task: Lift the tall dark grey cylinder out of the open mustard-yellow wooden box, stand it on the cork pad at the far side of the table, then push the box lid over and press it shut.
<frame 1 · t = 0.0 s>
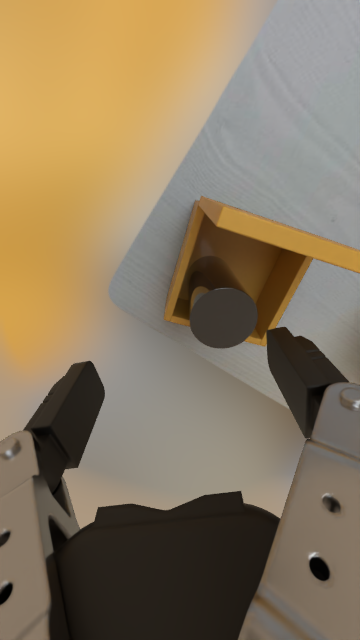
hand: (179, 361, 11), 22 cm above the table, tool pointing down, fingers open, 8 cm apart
lid: (294, 235, 16), point 14 cm above the table, hinge at 88.0°
dark grey cylinder: (208, 278, 31), point 1 cm above the table, touching chest
chest: (226, 267, 31), on the table
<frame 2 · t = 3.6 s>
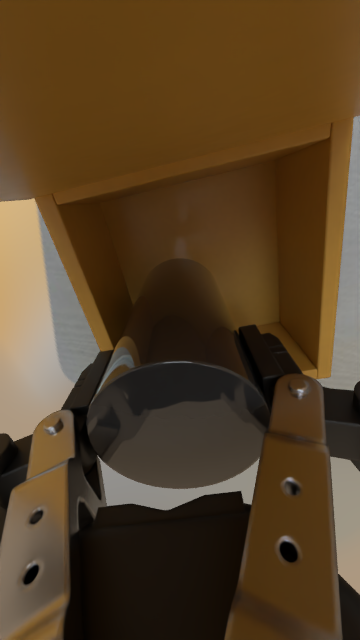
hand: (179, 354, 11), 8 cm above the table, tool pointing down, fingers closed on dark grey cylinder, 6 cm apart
lid: (187, 61, 3), point 14 cm above the table, hinge at 88.0°
dark grey cylinder: (180, 296, 18), point 1 cm above the table, touching chest, gripper
chest: (198, 266, 18), on the table
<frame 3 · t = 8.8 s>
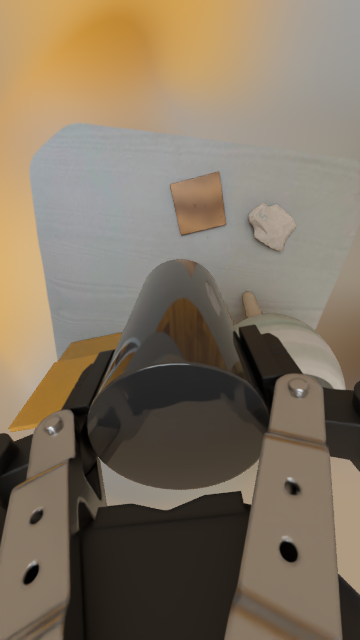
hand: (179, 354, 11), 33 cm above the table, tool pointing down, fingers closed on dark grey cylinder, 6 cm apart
pad: (198, 204, 38), on the table
lid: (73, 385, 37), point 14 cm above the table, hinge at 88.0°
dark grey cylinder: (180, 297, 18), point 25 cm above the table, touching gripper
decorative stone: (268, 225, 40), on the table
planter: (243, 321, 48), on the table
chest: (111, 361, 52), on the table
when the fingers open (8 cm above the table, at t = 14.1 s): dark grey cylinder stays where it is, resting on pad.
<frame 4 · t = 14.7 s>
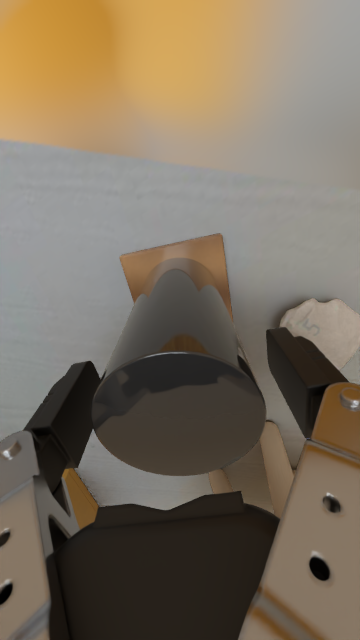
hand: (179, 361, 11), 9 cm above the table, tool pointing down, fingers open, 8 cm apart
pad: (180, 291, 19), on the table
dark grey cylinder: (180, 294, 19), point 1 cm above the table, touching pad
decorative stone: (314, 325, 21), on the table
planter: (258, 455, 29), on the table
chest: (47, 498, 33), on the table
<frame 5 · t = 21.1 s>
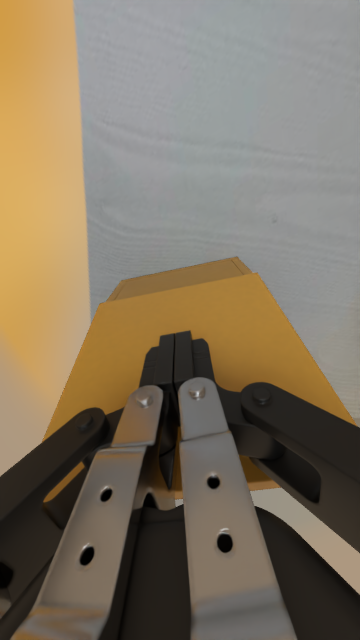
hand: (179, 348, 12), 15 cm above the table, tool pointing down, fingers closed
lid: (180, 353, 14), point 14 cm above the table, hinge at 79.1°, touching gripper
chest: (189, 320, 28), on the table
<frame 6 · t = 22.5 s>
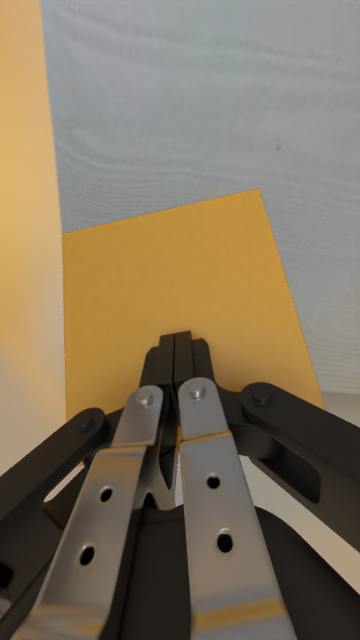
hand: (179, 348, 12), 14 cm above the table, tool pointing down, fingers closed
lid: (173, 316, 13), point 12 cm above the table, hinge at 42.1°, touching gripper
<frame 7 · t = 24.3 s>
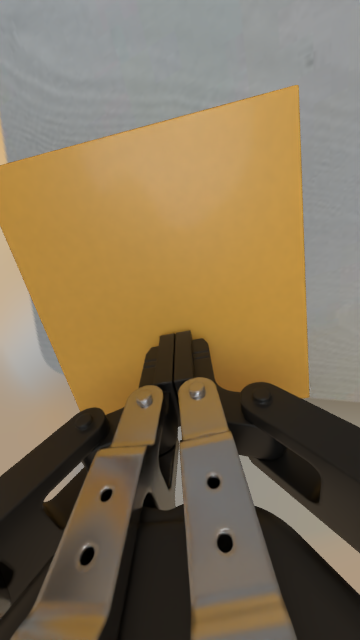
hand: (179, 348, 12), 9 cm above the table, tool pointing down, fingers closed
lid: (167, 298, 12), point 8 cm above the table, hinge at 6.9°, touching gripper
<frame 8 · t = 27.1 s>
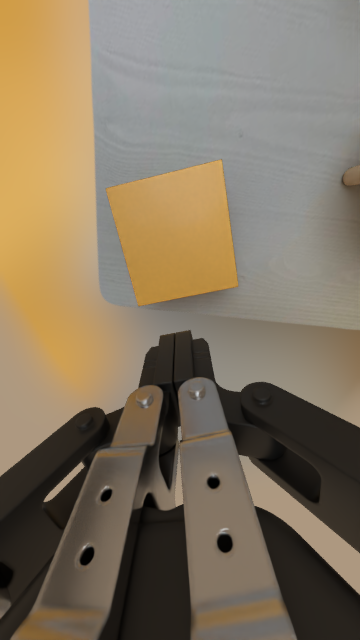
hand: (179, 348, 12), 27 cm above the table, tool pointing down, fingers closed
lid: (176, 240, 28), point 8 cm above the table, hinge at 6.9°
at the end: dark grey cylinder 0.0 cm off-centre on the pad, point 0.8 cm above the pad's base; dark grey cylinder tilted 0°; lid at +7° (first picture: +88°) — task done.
